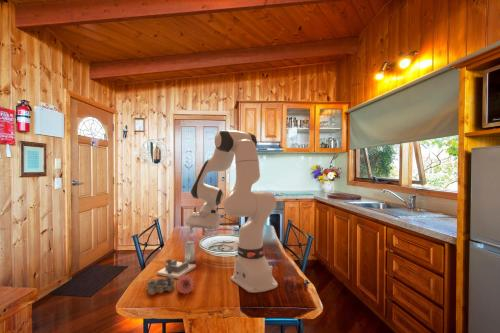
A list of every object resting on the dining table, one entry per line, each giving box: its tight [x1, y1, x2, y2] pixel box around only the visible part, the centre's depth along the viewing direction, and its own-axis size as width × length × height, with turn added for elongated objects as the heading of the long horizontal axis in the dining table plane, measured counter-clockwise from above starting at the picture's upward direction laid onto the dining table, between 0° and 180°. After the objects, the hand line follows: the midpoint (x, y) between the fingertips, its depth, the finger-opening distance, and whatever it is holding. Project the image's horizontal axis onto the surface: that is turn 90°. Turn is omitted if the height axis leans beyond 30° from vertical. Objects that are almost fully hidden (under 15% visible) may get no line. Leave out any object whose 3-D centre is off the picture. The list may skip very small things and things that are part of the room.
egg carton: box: [146, 276, 176, 295], centre depth 108 cm, size 11×8×4 cm
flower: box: [175, 273, 195, 295], centre depth 107 cm, size 8×8×6 cm
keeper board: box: [156, 258, 197, 279], centre depth 126 cm, size 15×12×8 cm
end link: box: [184, 240, 195, 264], centre depth 139 cm, size 4×4×10 cm
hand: (197, 234), depth 146 cm, fingers open, 8 cm apart
